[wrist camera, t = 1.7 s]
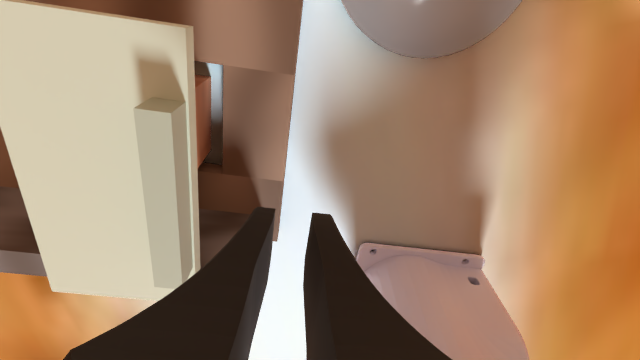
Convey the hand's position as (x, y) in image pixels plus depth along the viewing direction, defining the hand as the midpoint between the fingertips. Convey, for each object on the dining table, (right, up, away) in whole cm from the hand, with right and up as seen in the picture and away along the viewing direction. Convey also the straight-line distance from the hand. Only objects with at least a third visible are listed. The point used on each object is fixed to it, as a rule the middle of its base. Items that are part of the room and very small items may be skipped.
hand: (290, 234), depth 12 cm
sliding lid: (-8, +2, +3) cm, 9 cm away
